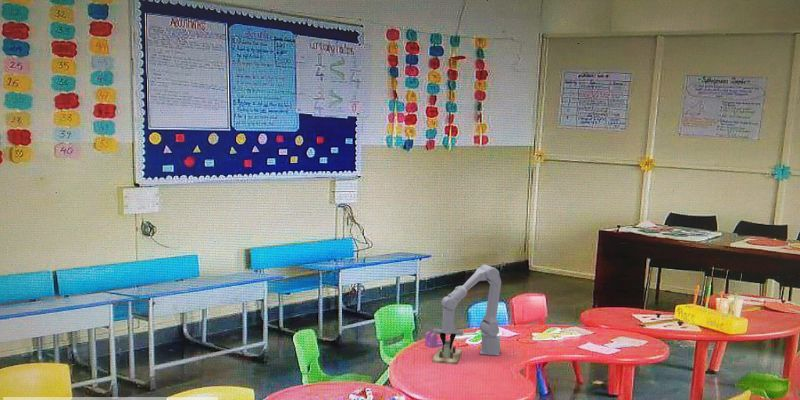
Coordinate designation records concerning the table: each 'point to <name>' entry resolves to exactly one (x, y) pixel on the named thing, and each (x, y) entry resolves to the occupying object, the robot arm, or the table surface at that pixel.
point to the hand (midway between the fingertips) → (447, 348)
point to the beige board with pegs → (452, 358)
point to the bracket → (432, 340)
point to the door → (447, 349)
